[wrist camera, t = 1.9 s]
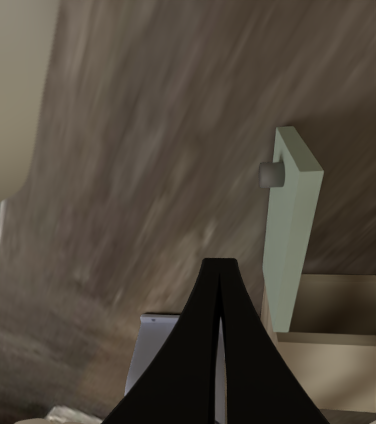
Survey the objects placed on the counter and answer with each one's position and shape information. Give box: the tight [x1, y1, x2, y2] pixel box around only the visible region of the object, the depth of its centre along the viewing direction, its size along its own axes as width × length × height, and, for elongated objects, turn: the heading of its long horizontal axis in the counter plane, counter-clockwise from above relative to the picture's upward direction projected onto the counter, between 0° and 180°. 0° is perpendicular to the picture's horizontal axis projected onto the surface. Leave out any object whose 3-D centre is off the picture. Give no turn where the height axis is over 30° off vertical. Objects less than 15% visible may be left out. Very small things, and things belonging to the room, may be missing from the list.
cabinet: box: [261, 274, 376, 413], centre depth 24 cm, size 13×11×6 cm
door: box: [259, 126, 324, 332], centre depth 18 cm, size 12×2×6 cm, turn 5°
